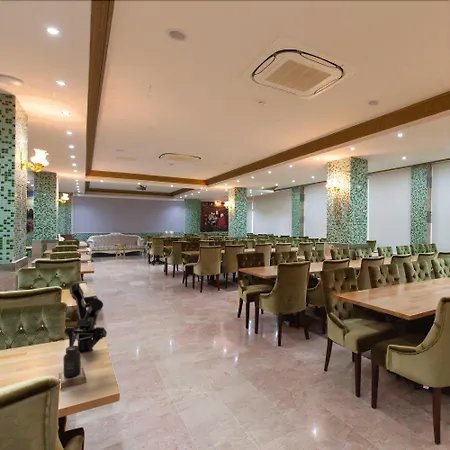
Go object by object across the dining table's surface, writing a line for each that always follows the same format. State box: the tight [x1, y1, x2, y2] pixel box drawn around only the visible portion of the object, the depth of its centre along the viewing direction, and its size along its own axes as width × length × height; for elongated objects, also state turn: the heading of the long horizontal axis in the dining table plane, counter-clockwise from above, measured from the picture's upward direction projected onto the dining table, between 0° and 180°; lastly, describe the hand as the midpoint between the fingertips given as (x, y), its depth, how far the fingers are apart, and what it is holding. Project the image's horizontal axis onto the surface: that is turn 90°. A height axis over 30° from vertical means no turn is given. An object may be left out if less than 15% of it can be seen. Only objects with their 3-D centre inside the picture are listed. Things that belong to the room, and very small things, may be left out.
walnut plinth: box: [58, 367, 87, 390], centre depth 130 cm, size 10×10×3 cm
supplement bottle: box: [62, 345, 82, 378], centre depth 130 cm, size 7×7×12 cm
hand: (79, 349), depth 137 cm, fingers open, 9 cm apart
